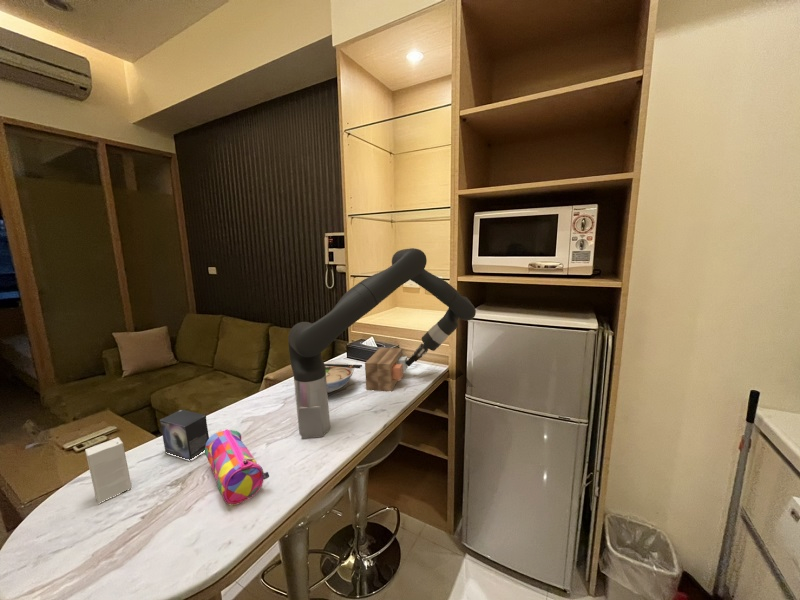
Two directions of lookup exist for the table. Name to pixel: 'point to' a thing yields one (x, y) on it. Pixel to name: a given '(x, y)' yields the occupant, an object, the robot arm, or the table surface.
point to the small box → (184, 433)
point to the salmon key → (397, 371)
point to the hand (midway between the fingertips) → (407, 364)
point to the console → (381, 369)
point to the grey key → (403, 362)
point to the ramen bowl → (338, 374)
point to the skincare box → (108, 469)
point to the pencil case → (234, 467)
